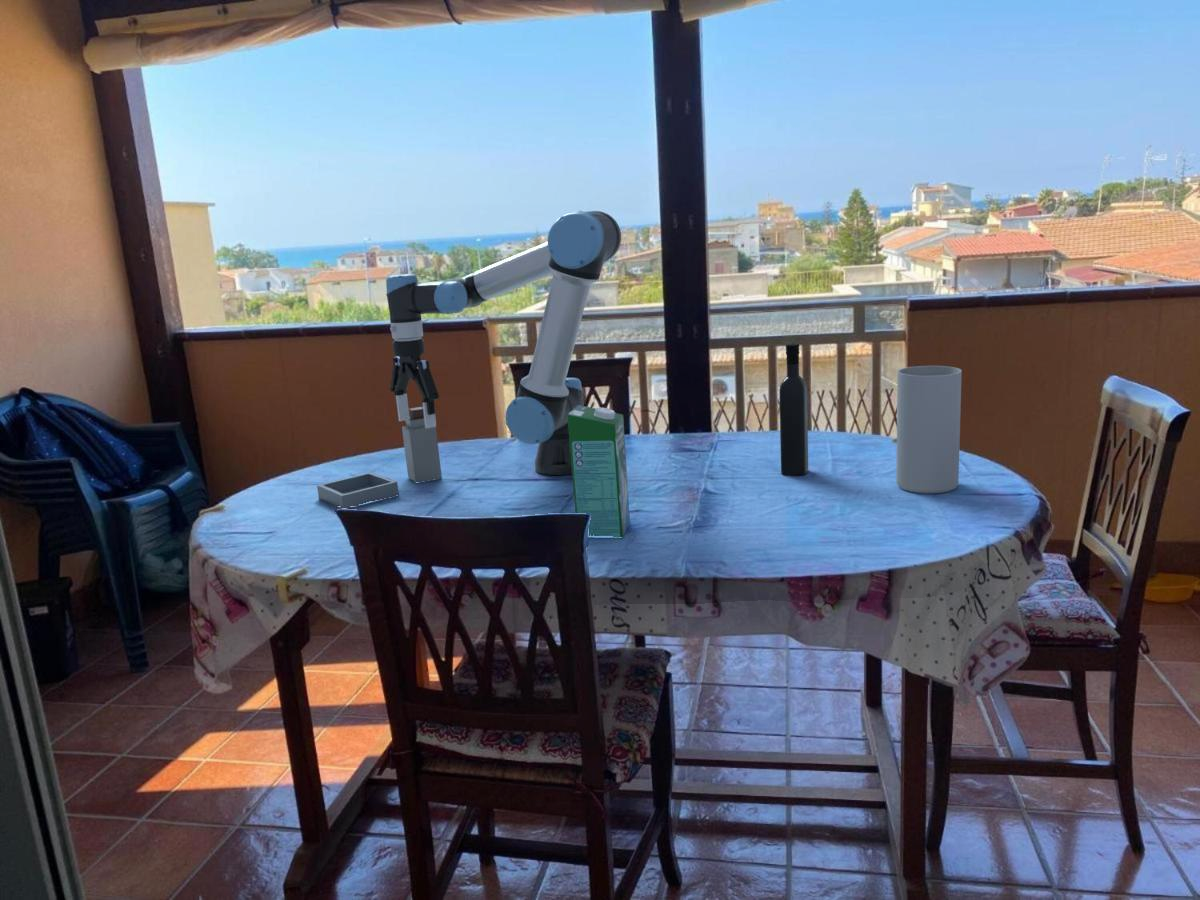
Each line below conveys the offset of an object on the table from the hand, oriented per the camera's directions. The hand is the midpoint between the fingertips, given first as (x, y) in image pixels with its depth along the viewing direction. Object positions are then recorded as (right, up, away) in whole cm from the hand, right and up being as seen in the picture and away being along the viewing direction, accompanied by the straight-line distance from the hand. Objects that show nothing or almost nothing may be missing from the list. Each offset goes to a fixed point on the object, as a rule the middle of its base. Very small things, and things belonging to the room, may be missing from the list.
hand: (417, 423), depth 225 cm
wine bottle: (+91, -12, -15) cm, 93 cm away
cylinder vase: (+116, -15, -32) cm, 121 cm away
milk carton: (+47, -23, -45) cm, 69 cm away
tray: (-12, -18, -10) cm, 24 cm away
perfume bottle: (+1, -14, +3) cm, 14 cm away
